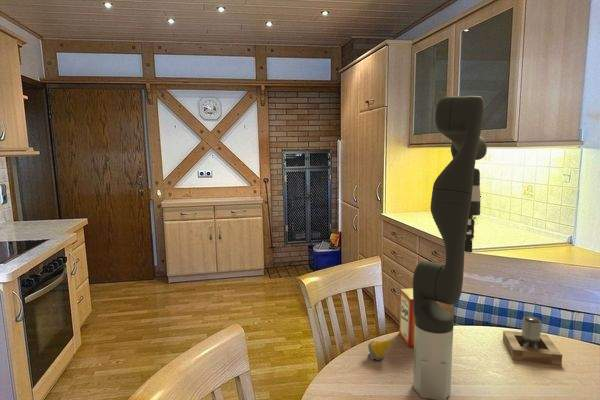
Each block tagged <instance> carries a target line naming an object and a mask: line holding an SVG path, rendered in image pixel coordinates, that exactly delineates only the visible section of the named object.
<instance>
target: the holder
mask: <svg viewBox="0 0 600 400" xmlns="http://www.w3.org/2000/svg"><path fill="white" fill-rule="evenodd" d="M502 332H503V333H502V341H503V342H504V344H505V347H506V349H507V350H508V352H509V355H510V356H511V359H512V360H516V361H517V360H518V361H522V362H523V361H525V362H530V363H532V362H533V363H538V364H539V363H541V364H549V365H557V366H562V365H563V364H562V362H563V354H562V353H561V352H560V350H559V349H558V347H557V346H556V345H555V343H554V341H552V340H551V338H550V337H549V335H548V334H541V335H540V348H539V349H538V348H529V347H521V339H522V331H513V330H512V331H510V330H503V331H502Z"/></svg>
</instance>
